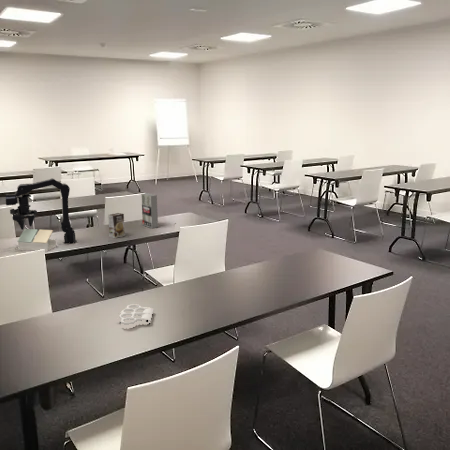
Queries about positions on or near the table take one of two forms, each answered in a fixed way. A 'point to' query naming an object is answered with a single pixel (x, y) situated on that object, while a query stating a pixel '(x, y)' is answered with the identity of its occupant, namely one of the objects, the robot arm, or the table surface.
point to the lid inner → (42, 236)
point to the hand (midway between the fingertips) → (26, 227)
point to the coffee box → (116, 225)
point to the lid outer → (28, 235)
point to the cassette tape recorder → (149, 210)
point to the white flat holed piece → (145, 314)
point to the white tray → (37, 245)
